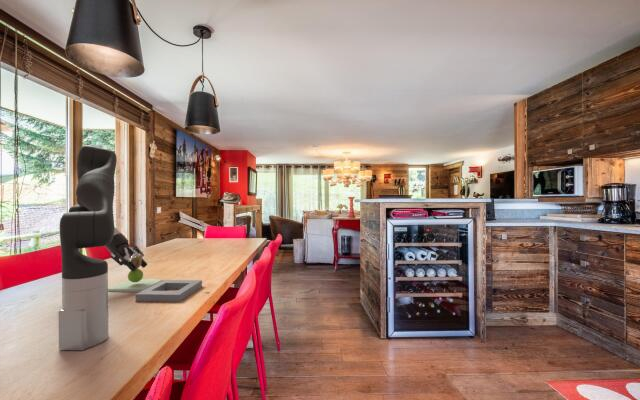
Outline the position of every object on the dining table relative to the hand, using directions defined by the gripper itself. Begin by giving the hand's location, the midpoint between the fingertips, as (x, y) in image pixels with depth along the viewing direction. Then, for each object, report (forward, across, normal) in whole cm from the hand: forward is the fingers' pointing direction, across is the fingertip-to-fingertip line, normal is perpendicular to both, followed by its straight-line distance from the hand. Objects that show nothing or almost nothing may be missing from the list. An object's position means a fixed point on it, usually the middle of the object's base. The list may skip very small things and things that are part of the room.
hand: (140, 267), depth 122 cm
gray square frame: (+18, -8, -7) cm, 21 cm away
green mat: (+4, 0, +6) cm, 8 cm away
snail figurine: (+3, 0, +6) cm, 6 cm away
